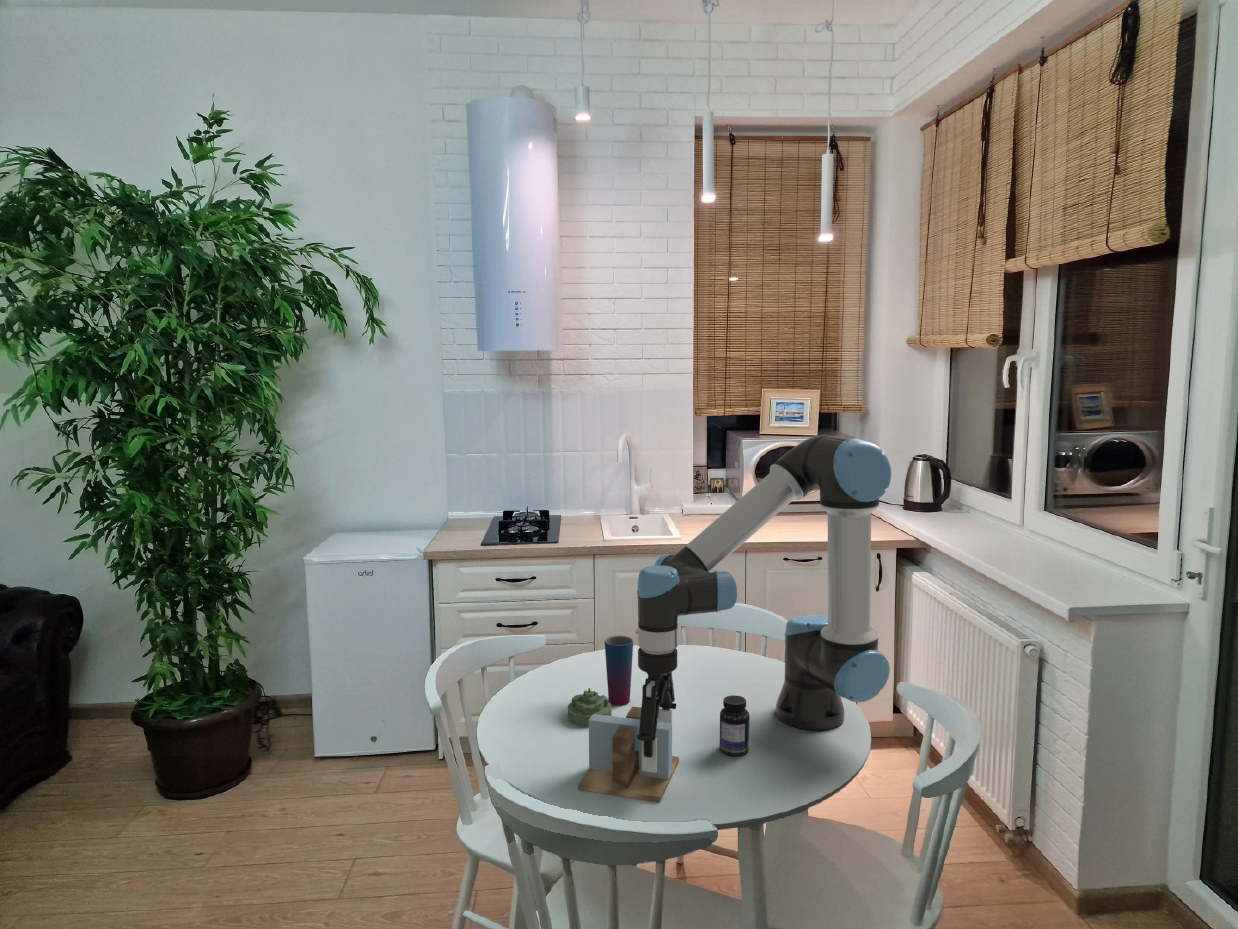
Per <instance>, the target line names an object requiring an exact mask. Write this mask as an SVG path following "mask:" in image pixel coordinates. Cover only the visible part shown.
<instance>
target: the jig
mask: <svg viewBox="0 0 1238 929" xmlns="http://www.w3.org/2000/svg"><path fill="white" fill-rule="evenodd" d="M641 707H642V706H641ZM641 707H639V706H633V705H632V706H631V708H630V709H629V711H628V712H627V714H626V715H625V718H632V719H640V717H641ZM679 762H680V757H679V756H675V755H672V773H671V775H670V777H669V780H667V779H660V778H653V777H646V776H639V751H635V750H634V728H632V727H624V726H619V727H618V729H617V730H616V732H615V733H614V735H613V736H612V772H611V771H604V770H597V769H590V768H589V767H588V769H587V771H586V772H585V774H584V775H583V776H582V778H581V780H580V781H579V783H578V786H577V790H578V791H584V792H592V793H597V794H606V795H612V796H616V797H623V798H624V797H625V798H632V799H638V800H643V801H651V802H658V803H661V801H662V799H663V798H664V795H665V793H666V790H667V789H668V786H669V784H670V781H671V779H672V778H673V776H674V773H675V771H676V769H677V766H678V764H679Z"/></svg>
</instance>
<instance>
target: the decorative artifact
mask: <svg viewBox="0 0 1238 929" xmlns="http://www.w3.org/2000/svg"><path fill="white" fill-rule="evenodd" d="M612 706H613V705H612V704H610V703H609V698H608V697H607V696H605V695H604V694H602V695H599V693H598V692H597V691H594V690H591V688H590V687H588V690H584V691H583V694H577V695H574V696H573V697H572V698H571V702H569V704H568V705H567V720H568V722H569V723H570V724H572V725H575V726H577V727H583V728H584V727H585V728H589V719H590V718H591V716H592V715H593V714H599V715H607V716H613V715H612V709H613V708H612Z"/></svg>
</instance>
